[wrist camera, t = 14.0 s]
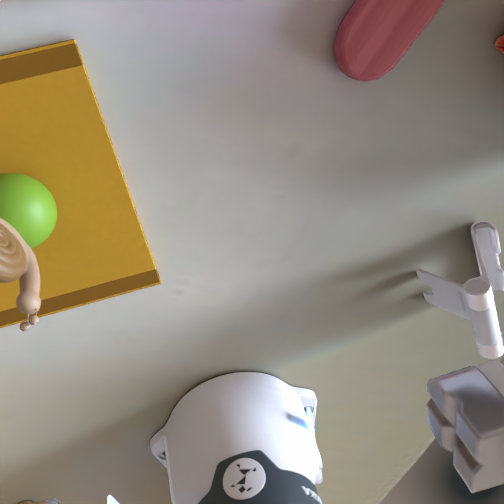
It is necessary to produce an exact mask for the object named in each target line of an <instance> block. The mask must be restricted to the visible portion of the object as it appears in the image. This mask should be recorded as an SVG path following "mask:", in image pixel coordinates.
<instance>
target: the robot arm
mask: <svg viewBox="0 0 504 504" xmlns="http://www.w3.org/2000/svg"><path fill="white" fill-rule="evenodd" d="M427 392H428V394H429V395H430V396H431V399H430V401H429V402H428V403H427V405H426V409H427V418H428V421H429V425H430V428H431V430H432V432H433V434H434V436H435V438H436V439H437V441H438V442H439V444H440V445H441V447H443V448H445V449H447V450H448V451H450V452H452V453H454V462H453V465H454V467H455V468H456V470H457V471H458V473H459V474H460V476H461V477H462V478H463V480H464V482H465V483H466V485H467V486H468V488H469V489H470V491H471V492H472V493H474V492H478V491H481V490H484V489H487V488H491V487H494V486H498V485H501V484H504V366H503V365H502V364H501V363H500V362H498V361H496V360H489V361H486V362H483V363H480V364H477V365H474V366H469V367H465V368H462V369H459V370H456V371H453V372H450V373H447V374H444V375H441V376H438V377H435V378H432V379H430V380H429V381H428V383H427ZM316 405H317V400H316V396H315V393H314V392H313V391H312V390H309V389H305V388H298V387H292V386H290V385H288V384H286V383H285V382H283V381H281V380H280V379H278V378H276V377H274V376H271V375H268V374H264V373H257V372H237V373H231V374H226V375H222V376H219V377H216V378H213V379H210V380H208V381H206V382H204V383H202V384H200V385H198V386H197V387H195V388H194V389H192V390H191V391H190V392H188V393H187V394H186V395H185V396H184V397H183V398H182V399H181V400H180V401H179V402H178V403H177V405H176V406H175V408H174V409H173V411H172V413H171V415H170V418H169V420H168V422H167V423H166V425H165V426H164V427H163V428H162V429H161V430H160V431H158V432H157V433H156V434H155V435H154V436H153V437H152V439H151V440H150V448H151V452H152V453H153V455H154V456H155V457H156V458H157V459H158V460H159V461H160V462H161V463H162V465H163V466H164V467H165V468H166V469H167V470H168V477H169V485H170V493H171V500H172V504H322V501H321V499H320V498H319V496H318V493H317V490H316V487H315V485H316V484H321V483H322V481H323V478H322V472H321V469H322V461H321V457H320V454H319V451H318V448H317V445H316V442H315V434H314V422H315V414H316ZM32 504H60V503H59V502H58V501H57V499H56V498H55V497H53V498H49V499H46V500H43V501H39V502H36V503H32ZM107 504H119V503H118V502H117V501H116V500H115V499H114V498H113V497H112V496H111V495H109V496H108V497H107Z"/></svg>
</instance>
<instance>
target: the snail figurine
mask: <svg viewBox="0 0 504 504" xmlns="http://www.w3.org/2000/svg"><path fill="white" fill-rule="evenodd" d="M56 220H57V208H56V204H55V201H54V198H53V196H52V195H51V193H50V192H49V190H48V189H47V188H46V187H45V186H44V185H43V184H42V183H41V182H39V181H38V180H36V179H34V178H32V177H30V176H27V175H24V174H19V173H3V174H0V283H10V282H13V281H15V280H17V279H18V278H19V285H20V294H19V295H18V297H17V299H16V305H17V308H18V309H19V311H21V312H22V313H24V314H27V321H26V322H22V323H21V324H20V329H21V330H22V331H26V330H28V329H29V328H30V324H31V325H35V324H37V323H38V321H39V318H38V317H37V312H38V311H39V309H40V305H41V300H40V297H39V292H40V273H39V267H38V263H37V260H36V257H35V255H34V253H33V251H32V249H33V248H35V247H37V246H38V245H40V244H41V243H43V242H44V241H45V240H46V239H47V238H48V237H49V236H50V234H51V233H52V231H53V229H54V227H55V224H56ZM34 313H36V314H35V315H34V316H31V317H30V318H29V315H30V314H34ZM28 318H29V323H30V324H29V323H28Z"/></svg>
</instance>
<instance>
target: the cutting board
mask: <svg viewBox="0 0 504 504" xmlns="http://www.w3.org/2000/svg"><path fill="white" fill-rule="evenodd" d="M3 173H19V174H24V175H27V176H30V177H32V178H34V179H36V180H38V181H39V182H41V183H42V184H43V185H44V186H45V187H46V188H47V189H48V190H49V192H50V193H51V195H52V196H53V198H54V201H55V204H56V208H57V220H56V224H55V227H54V229H53V231H52V233H51V234H50V236H49V237H48V238H47V239H46V240H45V241H44V242H43V243H41V244H40V245H38V246H37V247H35V248H33V249H32V251H33V253H34V255H35V257H36V260H37V263H38V267H39V273H40V292H39V297H40V300H41V305H40V309H39V311H38V312H37V317H38V318H39V317H42V316H46V315H50V314H53V313H57V312H60V311H64V310H68V309H71V308H75V307H78V306H82V305H86V304H89V303H93V302H96V301H100V300H104V299H107V298H111V297H115V296H118V295H122V294H125V293H129V292H133V291H136V290H140V289H143V288H147V287H151V286H154V285H158V284H161V280H160V278H159V275H158V272H157V269H156V266H155V264H154V261H153V258H152V255H151V252H150V250H149V247H148V244H147V241H146V238H145V235H144V233H143V230H142V227H141V224H140V221H139V219H138V216H137V213H136V210H135V207H134V204H133V202H132V199H131V196H130V193H129V190H128V188H127V185H126V182H125V179H124V176H123V174H122V171H121V168H120V165H119V162H118V159H117V157H116V154H115V151H114V148H113V145H112V143H111V140H110V137H109V134H108V131H107V128H106V126H105V123H104V120H103V117H102V114H101V112H100V109H99V106H98V103H97V100H96V98H95V95H94V92H93V89H92V86H91V83H90V81H89V78H88V75H87V72H86V69H85V67H84V64H83V61H82V58H81V55H80V52H79V50H78V47H77V44H76V41H75V39H72V40H68V41H64V42H59V43H55V44H50V45H46V46H42V47H37V48H33V49H28V50H24V51H19V52H15V53H11V54H6V55H2V56H0V174H3ZM19 294H20V285H19V278H18V279H17V280H15V281H13V282H10V283H0V328H3V327H6V326H10V325H14V324H17V323H21V322H24V321H27V314H24V313H22V312H21V311H19V309H18V308H17V305H16V299H17V297H18V295H19ZM35 314H36V313H34V314H30V315H29V318H30V317H31V316H34V315H35ZM29 318H28V320H29Z"/></svg>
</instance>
